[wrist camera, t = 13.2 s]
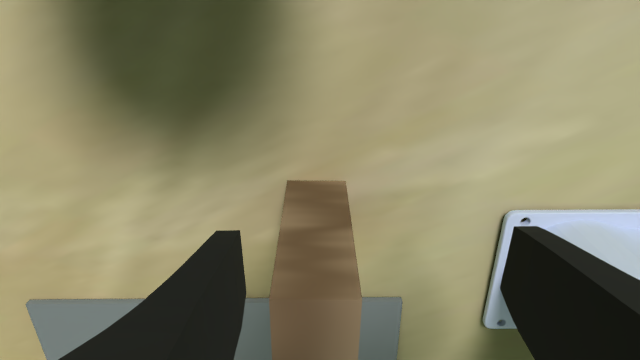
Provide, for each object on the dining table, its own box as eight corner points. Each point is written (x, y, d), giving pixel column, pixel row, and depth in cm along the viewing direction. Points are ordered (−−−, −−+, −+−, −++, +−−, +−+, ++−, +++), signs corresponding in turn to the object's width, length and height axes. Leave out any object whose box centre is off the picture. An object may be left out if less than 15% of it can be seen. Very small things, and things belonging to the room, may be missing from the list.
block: (345, 181, 22) (362, 300, 14) (343, 230, 23) (357, 366, 15) (287, 180, 22) (269, 299, 14) (288, 230, 23) (272, 366, 15)
